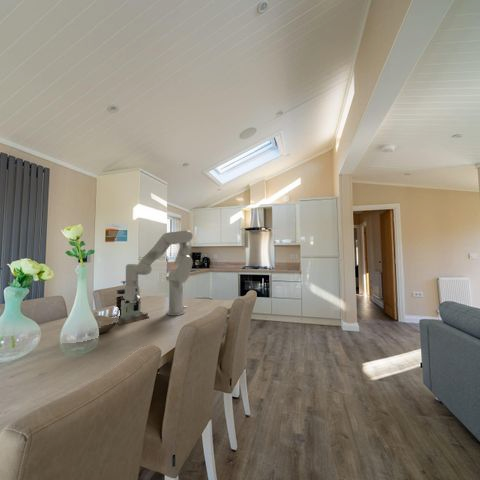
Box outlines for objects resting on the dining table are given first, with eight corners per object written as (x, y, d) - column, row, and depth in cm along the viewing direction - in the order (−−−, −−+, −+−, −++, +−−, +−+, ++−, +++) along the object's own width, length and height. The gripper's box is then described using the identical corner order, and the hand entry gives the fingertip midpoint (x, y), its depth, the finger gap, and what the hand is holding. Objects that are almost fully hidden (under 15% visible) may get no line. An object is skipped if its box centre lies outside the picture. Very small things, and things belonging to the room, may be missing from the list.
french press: (120, 312, 176) (121, 280, 177) (133, 312, 175) (134, 280, 176) (110, 316, 164) (112, 282, 165) (124, 316, 164) (125, 282, 165)
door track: (138, 315, 168) (139, 311, 168) (149, 317, 162) (149, 313, 162) (110, 322, 151) (110, 317, 151) (120, 325, 145) (120, 320, 145)
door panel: (137, 316, 162) (138, 300, 163) (140, 316, 161) (140, 301, 161) (120, 320, 152) (121, 304, 153) (123, 321, 151) (124, 304, 151)
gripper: (145, 283, 156) (144, 310, 156) (129, 281, 166) (128, 306, 165) (134, 284, 150) (134, 312, 149) (118, 282, 159) (118, 309, 158)
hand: (131, 309), depth 157 cm, fingers open, 9 cm apart
